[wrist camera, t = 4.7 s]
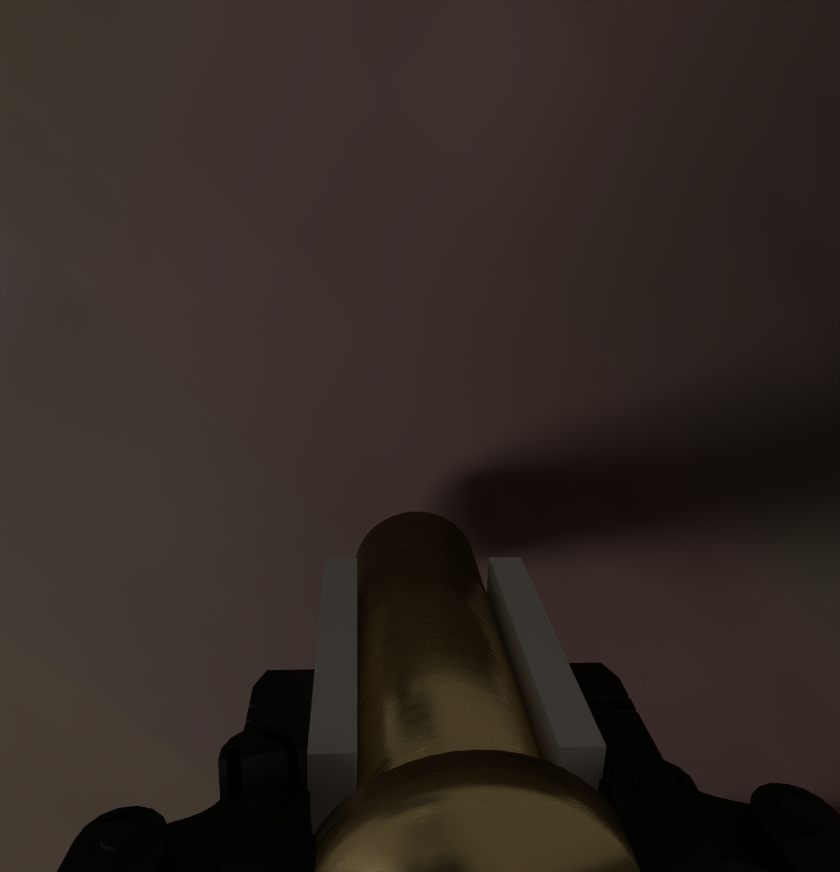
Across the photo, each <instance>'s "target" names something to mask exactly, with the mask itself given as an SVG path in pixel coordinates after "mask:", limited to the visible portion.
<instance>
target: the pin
mask: <svg viewBox="0 0 840 872" xmlns="http://www.w3.org/2000/svg"><path fill="white" fill-rule="evenodd" d="M356 558H357V789H356V790H355V791H354V792H352V793H351V794H350V795H348V796H347V797H346V798H345V799H344V800H343V801H342V802H341V803H340V804H339V805H337V806H336V807H335V808H334V809H333V810H332V811H331V812H330V814H329V815H328V816H327V817H326V819H325V820H324V821H323V822H322V823H321V825H320V826H319V827H318V829H317V830H316V832H315V834H314V835H313V839H314V847H315V854H316V860H315V872H641V870H640V868H639V865H638V863H637V861H636V858H635V856H634V854H633V851H632V849H631V847H630V844H629V842H628V839H627V837H626V834H625V832H624V829H623V827H622V825H621V822H620V820H619V818H618V817H617V815H616V814H615V812H614V811H613V809H612V808H611V806H610V805H609V803H608V802H607V801H606V800H605V799H604V798H603V797H602V796H601V795H600V794H599V793H598V791H597V790H596V789H594V788H593V787H592V786H591V785H589V784H588V783H587V782H585V781H584V780H583V779H582V778H580V777H579V776H577V775H575V774H573V773H572V772H570V771H568V770H567V769H565V768H563V767H561V766H558V765H556V764H553V763H551V762H549V761H546V760H544V759H541V757H540V754H539V751H538V748H537V745H536V742H535V739H534V736H533V733H532V730H531V727H530V724H529V721H528V718H527V715H526V712H525V709H524V705H523V702H522V699H521V696H520V693H519V690H518V687H517V684H516V681H515V678H514V675H513V672H512V669H511V666H510V663H509V660H508V657H507V654H506V651H505V648H504V645H503V642H502V639H501V636H500V633H499V630H498V627H497V624H496V621H495V618H494V615H493V612H492V609H491V606H490V603H489V600H488V597H487V594H486V591H485V588H484V585H483V582H482V579H481V576H480V573H479V570H478V567H477V563H476V560H475V557H474V554H473V551H472V548H471V546H470V543H469V541H468V539H467V538H466V536H465V535H464V533H463V532H462V531H461V530H460V529H459V528H458V527H457V526H456V525H455V524H453V523H452V522H450V521H449V520H447V519H445V518H443V517H441V516H438V515H435V514H432V513H427V512H407V513H401V514H398V515H395V516H392V517H390V518H388V519H386V520H384V521H382V522H381V523H379V524H378V525H377V526H375V527H374V528H373V529H372V530H371V531H370V532H369V533H368V534H367V536H366V537H365V538H364V540H363V541H362V543H361V545H360V547H359V550H358V552H357V556H356Z"/></svg>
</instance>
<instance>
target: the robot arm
mask: <svg viewBox="0 0 840 872" xmlns="http://www.w3.org/2000/svg"><path fill="white" fill-rule="evenodd" d="M487 597H488V600H489V603H490V606H491V609H492V612H493V615H494V618H495V621H496V624H497V627H498V630H499V633H500V636H501V639H502V642H503V645H504V648H505V651H506V654H507V657H508V660H509V663H510V666H511V669H512V672H513V675H514V678H515V681H516V684H517V687H518V690H519V693H520V696H521V699H522V702H523V705H524V709H525V712H526V715H527V718H528V721H529V724H530V727H531V730H532V733H533V736H534V739H535V742H536V745H537V748H538V751H539V754H540V757H541V759H544V760H546V761H549V762H551V763H553V764H556V765H558V766H561V767H563V768H565V769H567V770H568V771H570V772H572V773H573V774H575V775H577V776H579V777H580V778H582V779H583V780H584V781H585V782H587V783H588V784H589V785H591V786H592V787H593V788H594V789H596V790H597V791H598V793H599V794H600V795H601V796H602V797H603V798H604V799H605V800H606V801H607V802H608V803H609V805H610V806H611V808H612V809H613V811H614V812H615V814H616V815H617V817H618V818H619V820H620V822H621V825H622V827H623V829H624V832H625V834H626V837H627V839H628V842H629V844H630V847H631V849H632V851H633V854H634V856H635V858H636V861H637V863H638V865H639V868H640V870H641V872H840V816H839V815H838V813H837V812H836V811H835V810H834V809H833V808H832V807H831V806H829V805H828V804H827V803H826V802H825V801H824V800H822V799H821V798H820V797H818V796H816V795H814V794H812V793H811V792H809V791H807V790H805V789H802V788H799V787H796V786H793V785H789V784H781V783H769V784H766V785H762V786H759V787H758V788H757V789H756V790H755V791H754V792H753V794H752V796H751V801H750V804H747V803H742V802H737V801H733V800H728V799H723V798H719V797H715V796H712V795H708V794H705V793H703V792H700V791H698V788H697V787H696V785H695V784H694V782H693V780H692V779H691V777H690V776H689V775H687V774H686V773H685V772H684V771H683V770H681V769H680V768H679V767H678V766H675V765H673V764H671V763H669V762H667V761H665V760H663V758H662V756H661V754H660V752H659V750H658V749H657V747H656V745H655V743H654V741H653V739H652V738H651V736H650V734H649V732H648V730H647V729H646V727H645V725H644V723H643V721H642V719H641V718H640V716H639V714H638V713H636V708H635V707H634V705H633V703H632V701H631V699H630V698H628V694H627V692H626V690H625V688H624V686H623V685H622V683H621V681H620V679H619V677H617V676H616V675H615V674H614V673H613V672H611V671H610V670H609V669H608V668H607V667H605V666H604V665H603V664H602V663H568V661H567V659H566V656H565V654H564V652H563V650H562V648H561V645H560V643H559V641H558V639H557V637H556V634H555V632H554V630H553V628H552V626H551V623H550V621H549V619H548V617H547V615H546V612H545V610H544V608H543V606H542V604H541V601H540V599H539V597H538V595H537V593H536V590H535V588H534V586H533V584H532V582H531V579H530V577H529V575H528V573H527V571H526V568H525V566H524V564H523V562H522V560H521V557H489V566H488V581H487ZM218 766H219V784H220V800H219V801H218V802H217V803H216V804H215V805H213V806H212V807H210V808H208V809H207V810H205V811H203V812H201V813H199V814H196V815H194V816H191V817H188V818H185V819H181V820H178V821H174V822H171V823H168V824H166V822H165V819H164V817H163V816H162V815H160V814H159V813H158V812H156V811H155V810H153V809H151V808H145V807H140V806H131V807H122V808H117V809H115V810H112V811H110V812H107V813H104V814H102V815H100V816H99V817H97V818H96V819H94V820H93V821H92V822H90V823H89V824H87V825H86V826H85V827H84V828H83V829H82V831H81V832H80V833H79V835H78V836H77V837H76V838H75V840H74V841H73V843H72V845H71V847H70V849H69V851H68V852H67V854H66V856H65V858H64V860H63V862H62V863H61V865H60V867H59V869H58V871H57V872H315V860H316V854H315V847H314V839H313V835H314V834H315V832H316V830H317V829H318V827H319V826H320V825H321V823H322V822H323V821H324V820H325V819H326V817H327V816H328V815H329V814H330V812H331V811H332V810H333V809H334V808H335V807H336V806H337V805H339V804H340V803H341V802H342V801H343V800H344V799H345V798H346V797H347V796H348V795H350V794H351V793H352V792H354V791H355V790H356V789H357V558H325V561H324V572H323V583H322V594H321V605H320V616H319V627H318V639H317V650H316V661H315V669H312V670H267V671H266V672H265V673H264V675H263V676H262V677H261V678H260V679H259V680H258V682H257V683H256V684H255V685H254V686H253V690H252V694H251V699H250V704H249V709H248V713H247V718H246V724H245V727H244V731H242V732H240V733H239V734H237V735H235V736H233V737H232V738H230V740H229V741H228V742H227V743H226V744H225V745H224V746H223V747H222V749H221V752H220V756H219V759H218Z"/></svg>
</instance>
